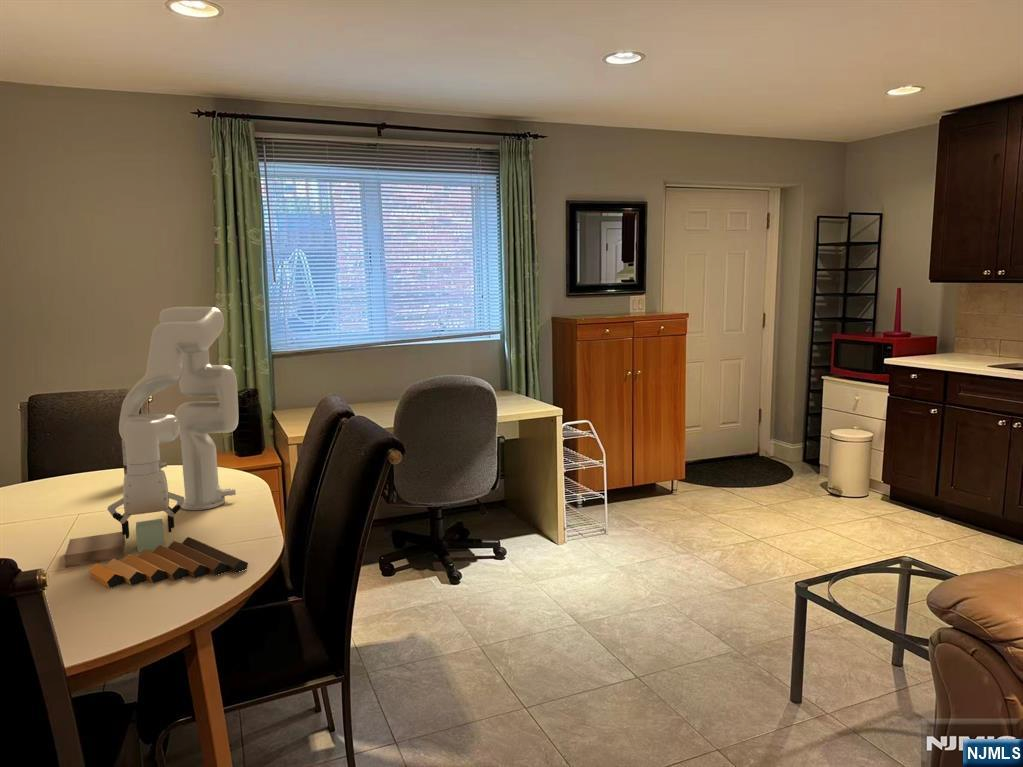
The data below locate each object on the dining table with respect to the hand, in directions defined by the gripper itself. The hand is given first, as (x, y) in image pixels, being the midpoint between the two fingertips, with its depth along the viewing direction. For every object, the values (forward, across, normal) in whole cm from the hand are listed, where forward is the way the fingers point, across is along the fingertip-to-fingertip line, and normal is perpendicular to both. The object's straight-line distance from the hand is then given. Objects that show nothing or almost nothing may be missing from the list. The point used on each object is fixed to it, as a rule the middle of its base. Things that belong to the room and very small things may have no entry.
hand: (149, 534), depth 178 cm
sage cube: (+4, 0, -1) cm, 4 cm away
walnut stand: (+3, +12, -1) cm, 12 cm away
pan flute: (+4, -4, +21) cm, 22 cm away
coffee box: (+2, +3, -68) cm, 68 cm away
